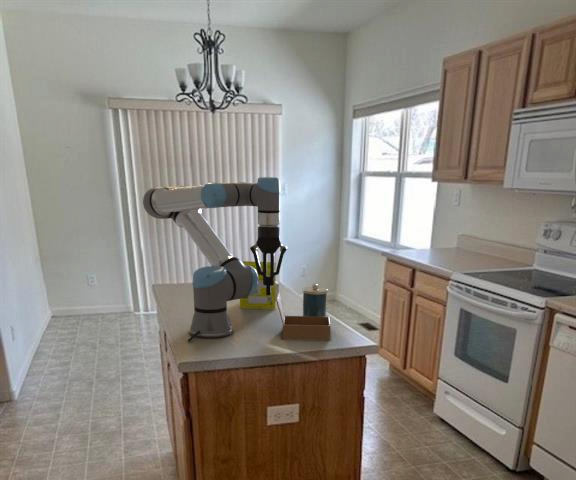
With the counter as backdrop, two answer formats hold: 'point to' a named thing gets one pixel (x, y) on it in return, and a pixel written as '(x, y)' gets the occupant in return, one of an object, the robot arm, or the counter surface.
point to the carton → (306, 327)
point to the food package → (260, 291)
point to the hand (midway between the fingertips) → (268, 294)
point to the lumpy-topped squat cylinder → (276, 289)
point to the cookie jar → (314, 301)
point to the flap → (280, 307)
